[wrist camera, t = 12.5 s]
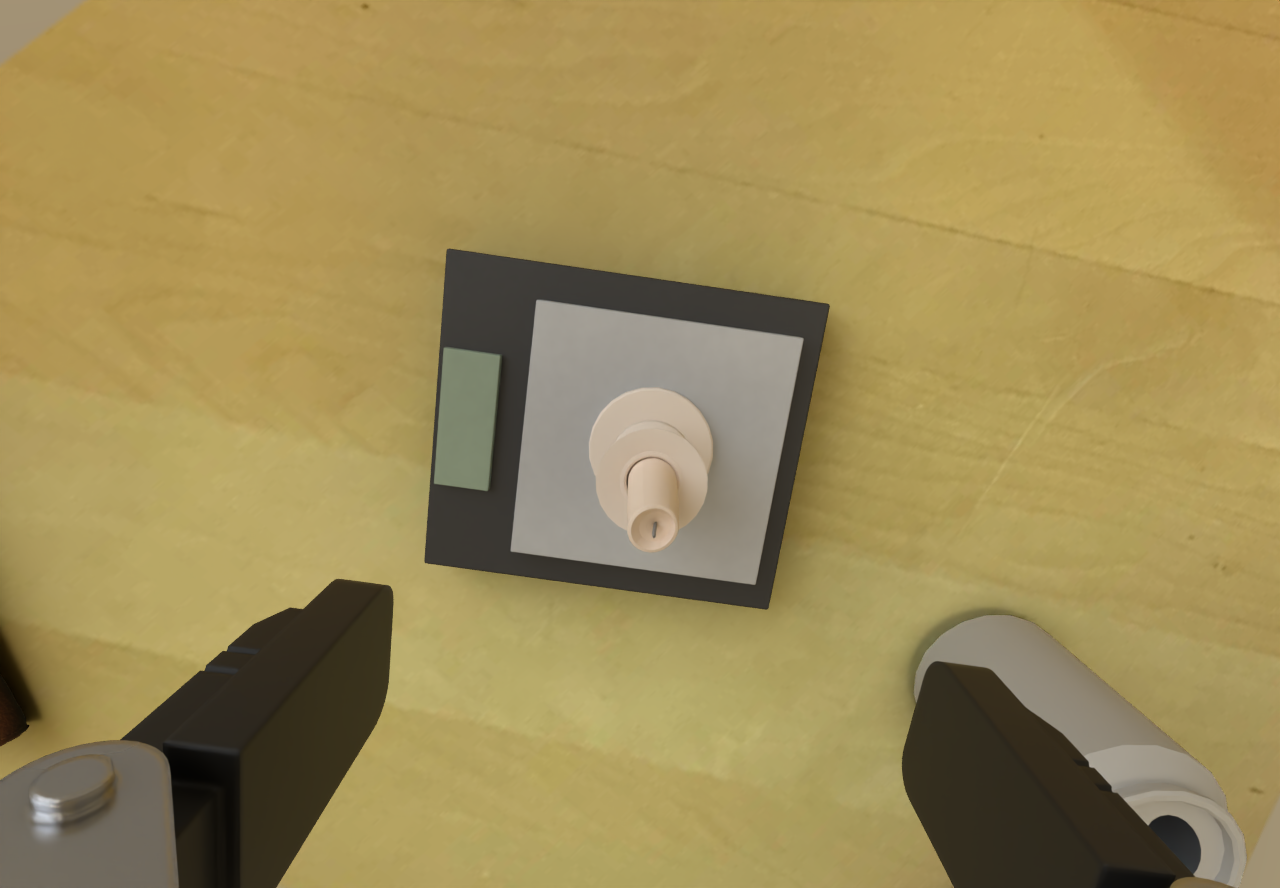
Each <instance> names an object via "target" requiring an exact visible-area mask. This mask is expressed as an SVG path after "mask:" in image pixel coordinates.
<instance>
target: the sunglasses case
mask: <svg viewBox="0 0 1280 888" xmlns="http://www.w3.org/2000/svg"><path fill="white" fill-rule="evenodd" d="M28 727H29V725H27V724H26V718H25V716H24V714H23V711H22V709H21V707H20V706H19V704H18V703H17V701H16V700H15V698H14V696H13V694H12V691H11V690H10V688H9V687H8V685H7V684H6V682H5V681H4V679H3V678H2V676H1V675H0V746H2V745H4V744H6V743H7V742H9V741H12V740H13V739H15V738H16V737H18V736H20V735H21V734H22V733H23V732H24V731H26V730H27V729H28Z"/></svg>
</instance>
